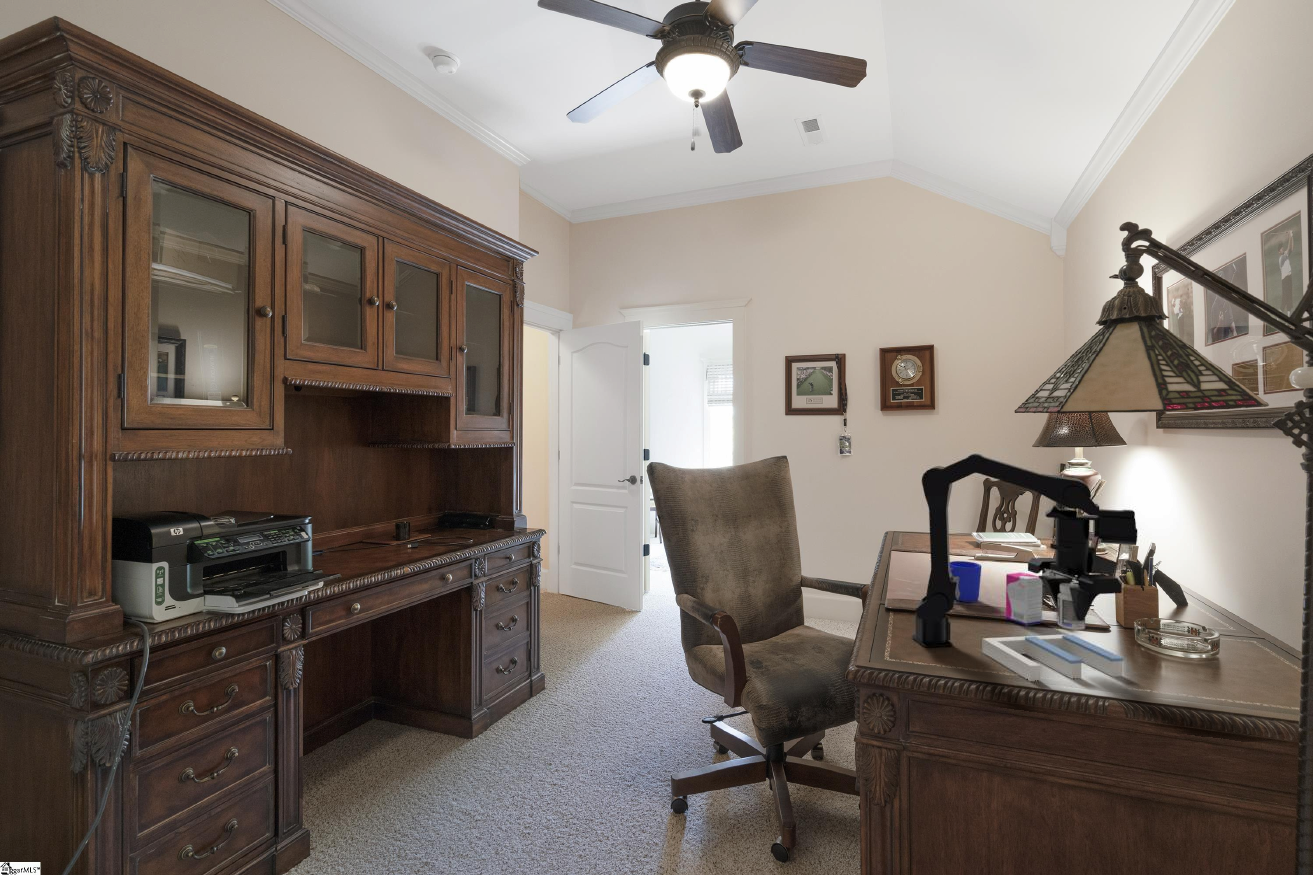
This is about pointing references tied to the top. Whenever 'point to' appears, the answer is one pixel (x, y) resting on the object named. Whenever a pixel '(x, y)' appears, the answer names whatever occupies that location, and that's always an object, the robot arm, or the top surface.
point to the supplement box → (1023, 598)
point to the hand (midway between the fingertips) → (1071, 616)
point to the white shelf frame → (1051, 655)
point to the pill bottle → (1068, 609)
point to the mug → (967, 579)
